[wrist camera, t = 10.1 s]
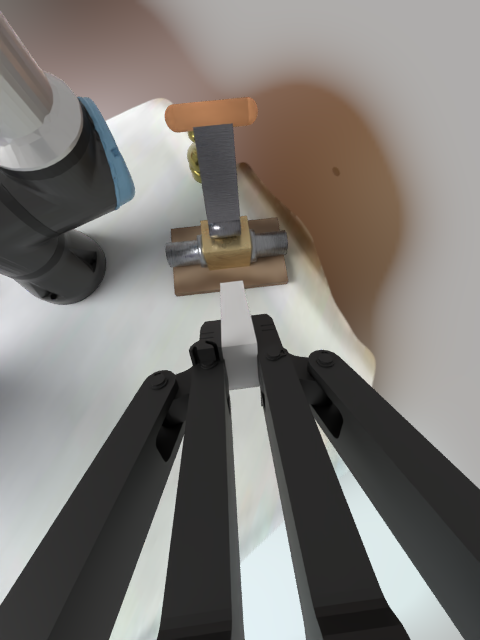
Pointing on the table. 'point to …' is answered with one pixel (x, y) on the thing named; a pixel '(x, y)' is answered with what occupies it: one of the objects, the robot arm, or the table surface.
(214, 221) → the valve lever
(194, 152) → the gold pawn figurine
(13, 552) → the table surface
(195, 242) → the pipe valve
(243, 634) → the robot arm
